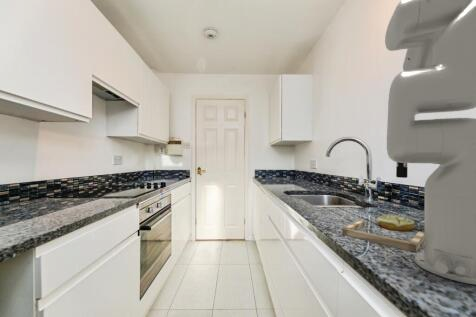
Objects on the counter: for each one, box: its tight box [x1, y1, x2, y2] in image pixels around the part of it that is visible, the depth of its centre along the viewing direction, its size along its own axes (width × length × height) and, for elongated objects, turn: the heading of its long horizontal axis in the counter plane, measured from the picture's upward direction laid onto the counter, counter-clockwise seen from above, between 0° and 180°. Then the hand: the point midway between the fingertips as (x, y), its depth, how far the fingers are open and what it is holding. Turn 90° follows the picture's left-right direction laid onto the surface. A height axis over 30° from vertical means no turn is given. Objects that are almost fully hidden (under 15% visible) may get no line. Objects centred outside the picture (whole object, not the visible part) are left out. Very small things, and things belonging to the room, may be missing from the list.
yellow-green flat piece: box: [376, 214, 416, 232], centre depth 78 cm, size 10×11×4 cm
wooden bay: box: [341, 219, 424, 253], centre depth 68 cm, size 16×18×2 cm
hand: (401, 177), depth 86 cm, fingers closed
